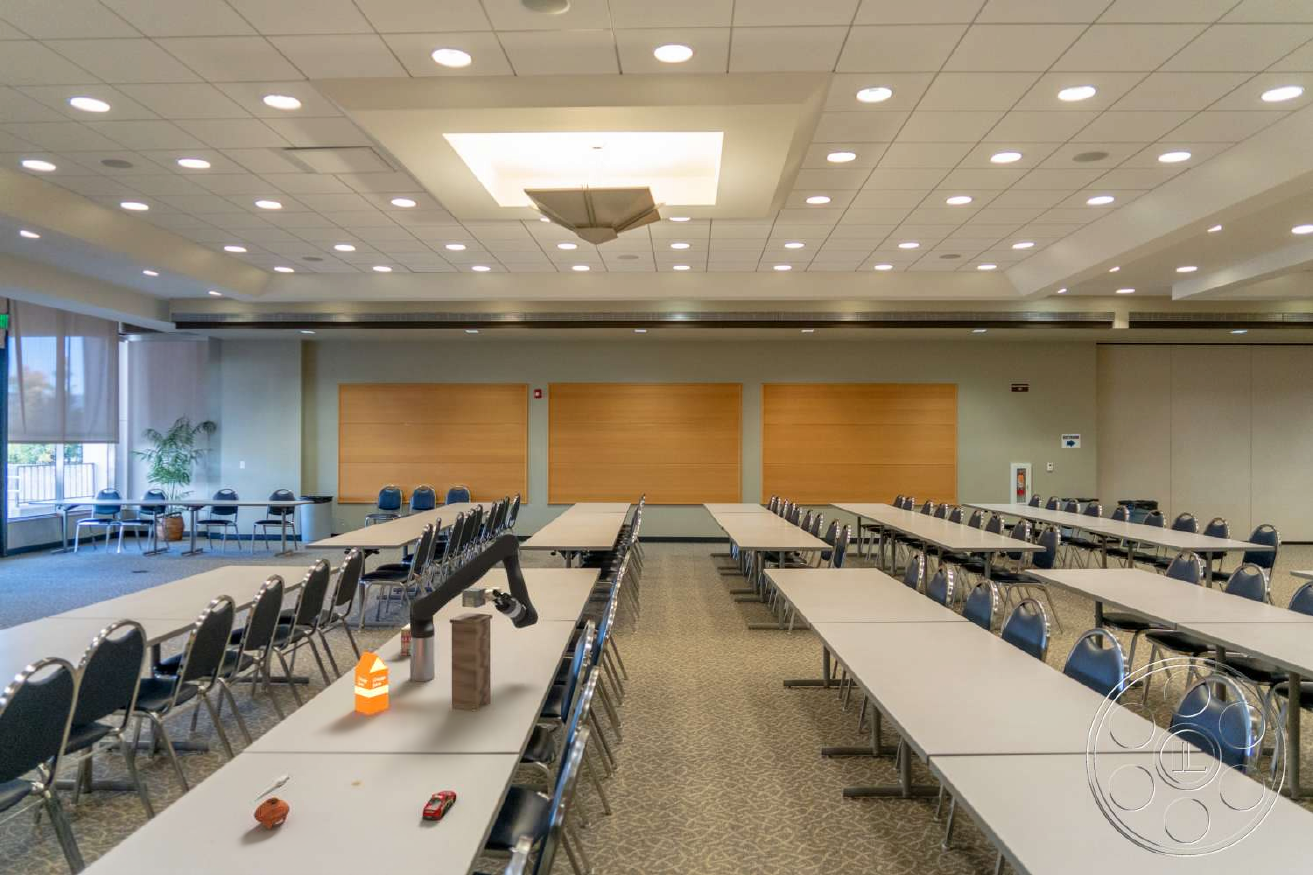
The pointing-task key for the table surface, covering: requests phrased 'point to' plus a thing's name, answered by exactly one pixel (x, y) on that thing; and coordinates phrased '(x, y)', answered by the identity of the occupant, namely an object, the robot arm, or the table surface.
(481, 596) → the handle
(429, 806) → the race car
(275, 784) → the white tapered stick
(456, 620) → the pedestal
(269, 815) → the pot
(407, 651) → the red printed box
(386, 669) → the orange juice
